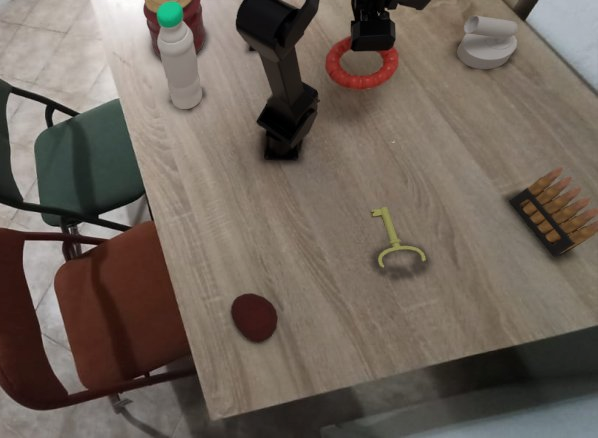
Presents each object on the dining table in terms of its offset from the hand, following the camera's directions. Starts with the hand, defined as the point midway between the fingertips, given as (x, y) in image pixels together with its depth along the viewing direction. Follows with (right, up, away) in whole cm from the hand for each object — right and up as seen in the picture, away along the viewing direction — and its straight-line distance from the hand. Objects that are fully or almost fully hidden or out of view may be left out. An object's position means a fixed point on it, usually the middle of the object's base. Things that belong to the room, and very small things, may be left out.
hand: (361, 41), depth 81 cm
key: (+3, -37, -5) cm, 38 cm away
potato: (-21, -51, -4) cm, 55 cm away
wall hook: (+26, 0, +5) cm, 27 cm away
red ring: (-1, -4, -2) cm, 5 cm away
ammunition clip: (+23, -34, -9) cm, 43 cm away
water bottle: (-30, -5, +20) cm, 36 cm away
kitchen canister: (-30, +11, +27) cm, 42 cm away
